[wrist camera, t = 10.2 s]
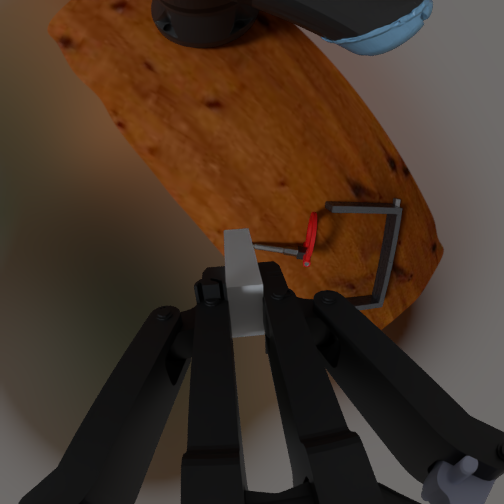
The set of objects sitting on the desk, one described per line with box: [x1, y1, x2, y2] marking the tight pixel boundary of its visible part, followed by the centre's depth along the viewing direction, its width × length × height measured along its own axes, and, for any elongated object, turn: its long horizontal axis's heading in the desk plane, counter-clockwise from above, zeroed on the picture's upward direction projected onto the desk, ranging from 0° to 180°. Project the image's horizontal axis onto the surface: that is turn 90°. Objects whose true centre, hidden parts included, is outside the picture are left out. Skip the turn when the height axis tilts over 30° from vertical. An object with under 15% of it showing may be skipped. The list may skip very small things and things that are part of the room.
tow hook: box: [253, 212, 317, 267], centre depth 41 cm, size 7×10×7 cm
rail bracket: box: [325, 198, 402, 310], centre depth 46 cm, size 21×14×3 cm, turn 179°
